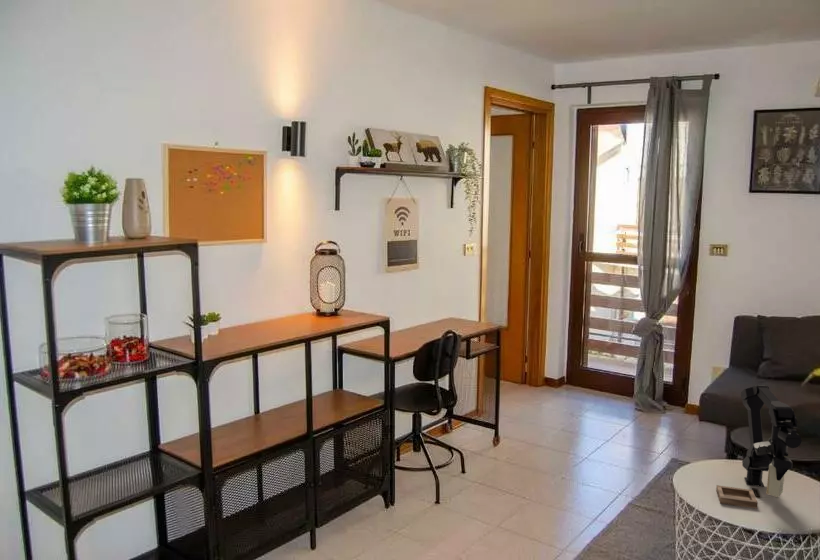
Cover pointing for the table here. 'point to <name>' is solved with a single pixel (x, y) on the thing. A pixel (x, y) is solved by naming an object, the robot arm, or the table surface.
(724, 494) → the walnut holder
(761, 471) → the robot arm
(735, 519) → the table surface
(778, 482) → the skincare box
